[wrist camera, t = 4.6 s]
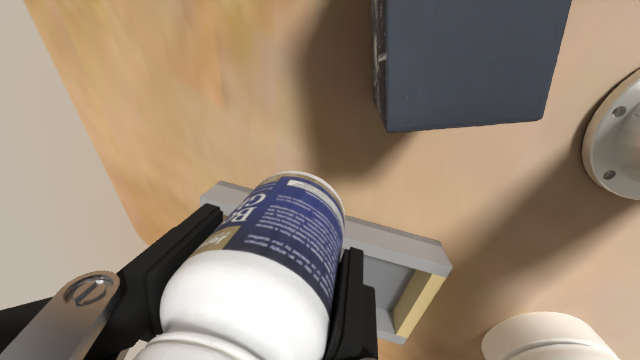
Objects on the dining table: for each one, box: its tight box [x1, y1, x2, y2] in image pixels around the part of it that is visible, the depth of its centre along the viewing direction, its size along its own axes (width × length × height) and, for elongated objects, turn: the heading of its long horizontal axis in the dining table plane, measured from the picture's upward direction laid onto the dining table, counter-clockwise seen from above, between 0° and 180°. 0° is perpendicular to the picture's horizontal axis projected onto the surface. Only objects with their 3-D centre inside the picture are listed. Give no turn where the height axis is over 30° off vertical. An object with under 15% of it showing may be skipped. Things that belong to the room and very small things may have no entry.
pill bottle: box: [133, 171, 345, 360], centre depth 9 cm, size 5×5×10 cm
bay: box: [200, 181, 453, 345], centre depth 28 cm, size 26×13×4 cm, turn 77°
